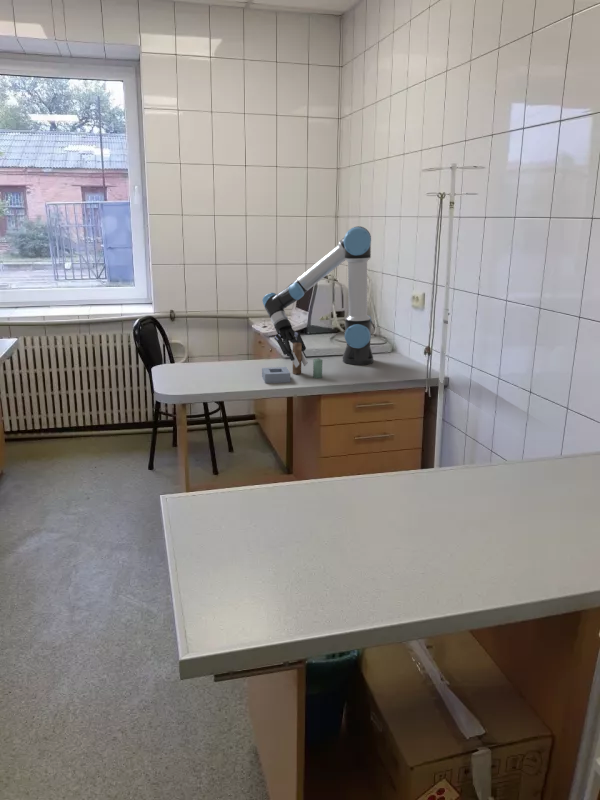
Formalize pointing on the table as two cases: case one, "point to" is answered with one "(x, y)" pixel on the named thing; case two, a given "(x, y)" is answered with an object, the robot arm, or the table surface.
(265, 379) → the socket block
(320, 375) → the green pin short
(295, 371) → the walnut pin long
